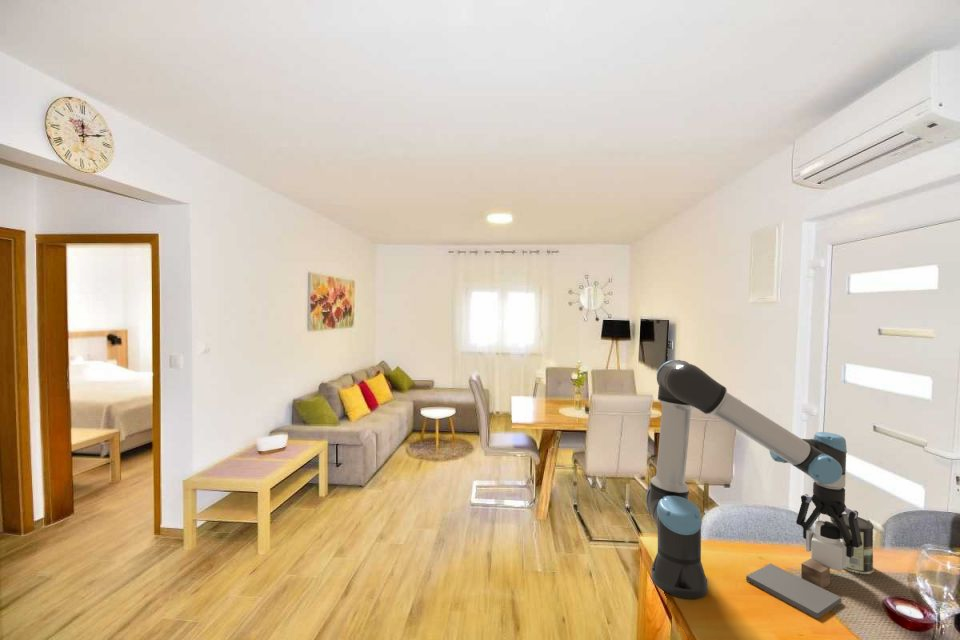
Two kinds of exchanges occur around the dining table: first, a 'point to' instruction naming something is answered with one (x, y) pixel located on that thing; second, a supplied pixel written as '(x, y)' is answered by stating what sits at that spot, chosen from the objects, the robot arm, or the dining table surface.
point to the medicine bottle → (827, 545)
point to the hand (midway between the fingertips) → (826, 557)
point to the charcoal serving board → (794, 590)
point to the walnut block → (815, 573)
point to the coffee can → (861, 547)
